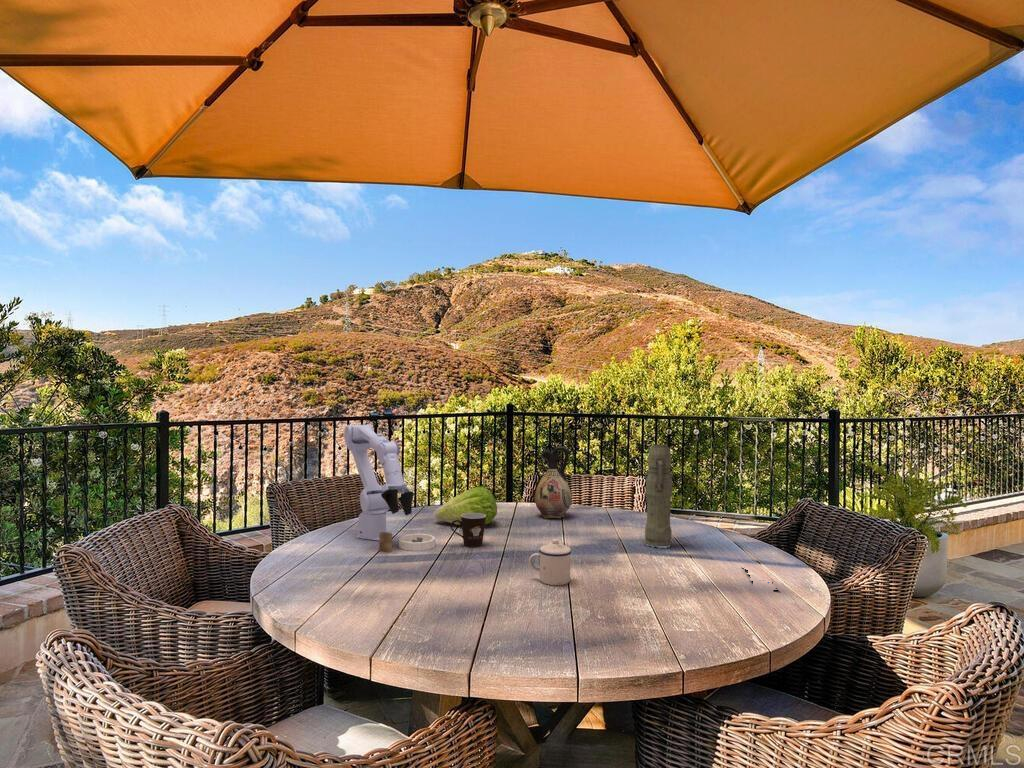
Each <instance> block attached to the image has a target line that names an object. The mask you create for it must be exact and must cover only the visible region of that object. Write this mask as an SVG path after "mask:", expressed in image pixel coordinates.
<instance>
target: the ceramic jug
mask: <svg viewBox="0 0 1024 768" xmlns="http://www.w3.org/2000/svg"><path fill="white" fill-rule="evenodd" d="M558 452H562V453H563V454H564V460H563V463H562V465H561V468H559V466H558V463H560V462H561V461H562V458H561V457H560V456H559V454H557V453H558ZM569 456H570V454H569V450H568V448H567V447H565V446H562V445H561V446H556V447H554V448H553V450H552V452H551V451H550V449H549V448H546V450H544V451H543V452H542V453H540V455H539V456H538V457H539V458H541V459H544V460H545V461H547V462H548V468H547V469H546V471H545V472H544V474H543V475H542V477H541V478H540V480H539V482H538V484H537V486H536V489H535V493H534V503H535V506H536V508H537V510H538V511H539V512H540V514H541V517H542V516H543V517H546V518H545V519H547V518H559V519H562V518H561V517H563V518H565V517H564V516H566V515H565V514H566V513H567V512H568V510H569V509H570V508H571V505H572V500H573V499H572V491H571V488H570V485H569V482H567V481H568V480H567V476H566V473H565V471H566V468H567V464H568V461H569V459H570V457H569ZM543 517H542V518H543Z"/></svg>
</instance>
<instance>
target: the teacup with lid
mask: <svg viewBox="0 0 1024 768" xmlns="http://www.w3.org/2000/svg"><path fill="white" fill-rule="evenodd" d="M538 551H539V553H538V552H535V553H532V554H531V555H530V557H529V558H528V564H529V566H530V568H531V569H532V570H533V571H536V572H539V580H540V582H542V583H543V584H545V585H549V586H563V585H566V584H569V582H570V581H571V555H572V550H571V548H570V547H569V546H567V545H565V544H563V543H561V542H560V540H559V539H558V538H553V539H552V540H551V542H548V543H547V544H544V545H541V546H540V547H539V550H538ZM534 557H539V567H536V566H535V565H534V564H533V561H532V559H533V558H534Z"/></svg>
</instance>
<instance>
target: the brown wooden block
mask: <svg viewBox="0 0 1024 768" xmlns="http://www.w3.org/2000/svg"><path fill="white" fill-rule="evenodd" d="M378 551H379V552H383V553H392V552H393V532H388V531H386V532H380V533H379V540H378Z"/></svg>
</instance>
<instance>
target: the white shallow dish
mask: <svg viewBox="0 0 1024 768" xmlns="http://www.w3.org/2000/svg"><path fill="white" fill-rule="evenodd" d="M398 547H399V549H401V550H405V551H410V552H415V551H416V552H418V551H419V552H421V551H422V552H423V551H427V550H432V549H433V548H435V547H436V536H434V535H431V534H427V533H410V534H404V535H402V536H400V537H399V539H398Z"/></svg>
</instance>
